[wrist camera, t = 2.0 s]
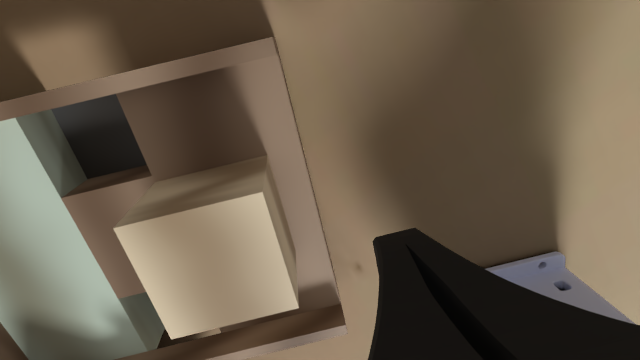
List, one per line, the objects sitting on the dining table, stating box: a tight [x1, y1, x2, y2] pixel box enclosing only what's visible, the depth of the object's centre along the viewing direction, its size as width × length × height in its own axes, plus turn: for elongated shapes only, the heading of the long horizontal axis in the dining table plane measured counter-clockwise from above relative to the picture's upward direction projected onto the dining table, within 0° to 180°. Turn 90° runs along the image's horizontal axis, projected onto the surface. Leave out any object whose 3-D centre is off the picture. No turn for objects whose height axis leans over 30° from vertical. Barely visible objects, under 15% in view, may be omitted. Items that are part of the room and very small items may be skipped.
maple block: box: [113, 155, 299, 339], centre depth 14 cm, size 5×5×4 cm
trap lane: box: [0, 37, 348, 360], centre depth 16 cm, size 17×14×4 cm
